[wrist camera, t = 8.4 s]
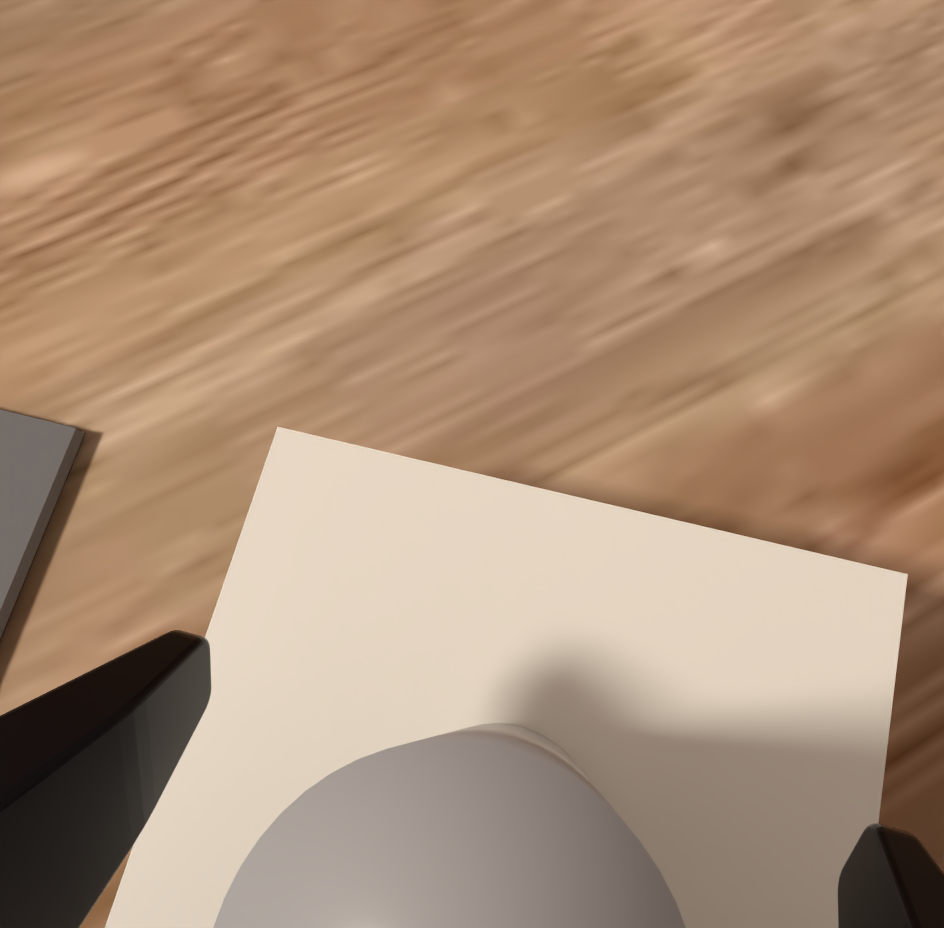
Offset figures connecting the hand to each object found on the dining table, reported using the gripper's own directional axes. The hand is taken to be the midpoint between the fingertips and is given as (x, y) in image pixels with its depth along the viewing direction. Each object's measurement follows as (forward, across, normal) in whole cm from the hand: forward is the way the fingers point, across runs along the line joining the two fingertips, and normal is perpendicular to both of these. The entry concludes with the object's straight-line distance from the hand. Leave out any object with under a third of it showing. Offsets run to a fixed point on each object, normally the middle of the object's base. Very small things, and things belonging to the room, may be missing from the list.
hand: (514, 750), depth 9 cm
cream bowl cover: (+5, 0, +7) cm, 8 cm away
